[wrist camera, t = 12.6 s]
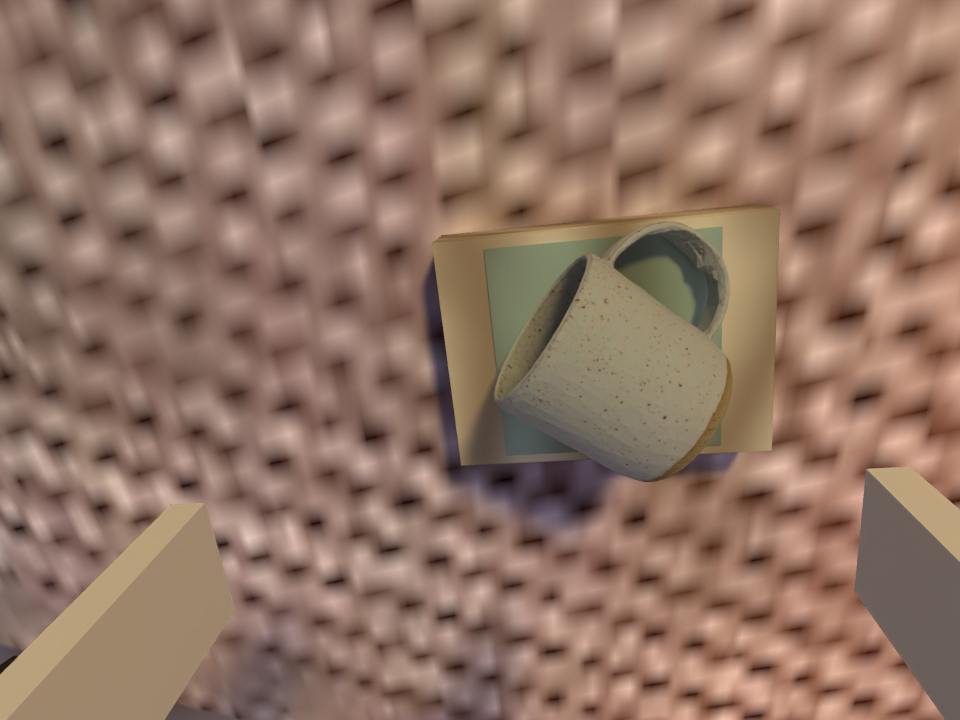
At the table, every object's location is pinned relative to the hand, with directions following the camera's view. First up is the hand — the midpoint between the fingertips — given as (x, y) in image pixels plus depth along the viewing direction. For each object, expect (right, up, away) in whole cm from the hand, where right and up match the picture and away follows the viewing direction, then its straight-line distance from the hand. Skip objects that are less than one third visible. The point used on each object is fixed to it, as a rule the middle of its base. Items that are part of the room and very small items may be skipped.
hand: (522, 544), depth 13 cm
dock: (+6, +5, +21) cm, 23 cm away
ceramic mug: (+6, +6, +18) cm, 20 cm away
